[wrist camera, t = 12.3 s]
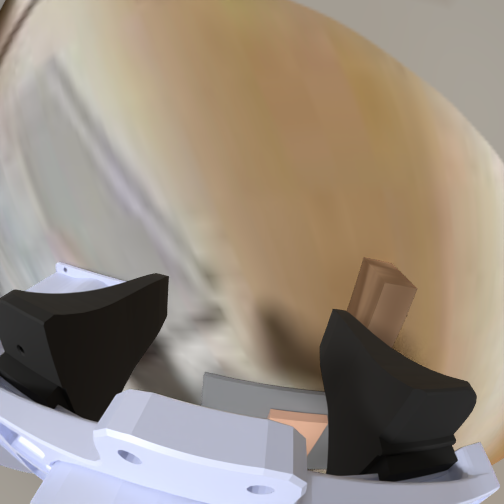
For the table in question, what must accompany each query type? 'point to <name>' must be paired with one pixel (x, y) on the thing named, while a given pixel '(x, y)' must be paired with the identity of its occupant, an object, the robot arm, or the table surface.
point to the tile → (302, 424)
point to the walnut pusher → (381, 299)
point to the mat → (267, 405)
